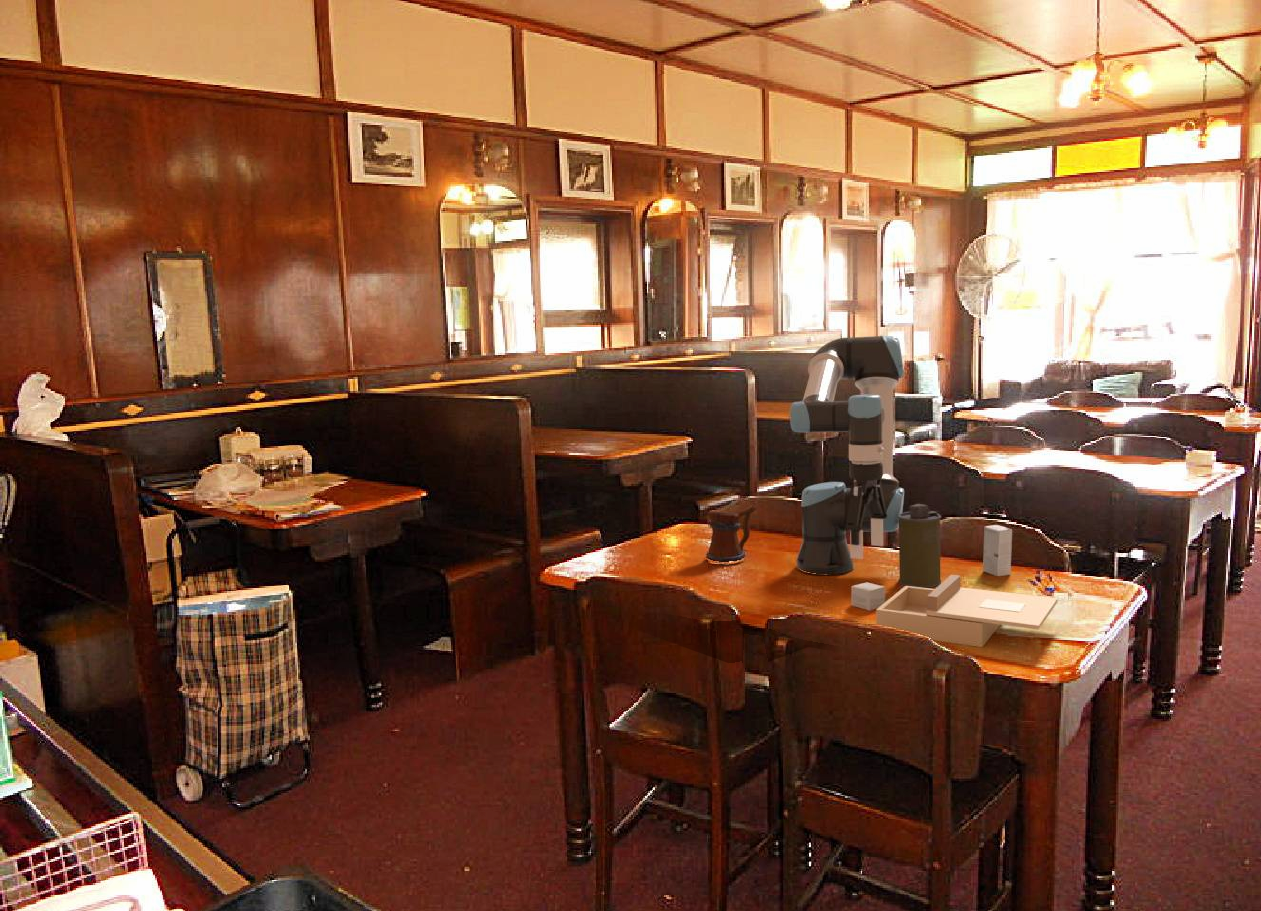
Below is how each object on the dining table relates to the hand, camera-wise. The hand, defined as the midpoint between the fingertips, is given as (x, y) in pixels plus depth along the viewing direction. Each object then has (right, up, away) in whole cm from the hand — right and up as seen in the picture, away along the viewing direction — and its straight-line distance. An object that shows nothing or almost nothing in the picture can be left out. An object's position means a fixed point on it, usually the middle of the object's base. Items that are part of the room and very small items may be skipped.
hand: (867, 551), depth 218 cm
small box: (+1, -13, +2) cm, 14 cm away
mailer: (+13, -15, -14) cm, 24 cm away
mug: (-25, -8, +52) cm, 59 cm away
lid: (+21, -10, -21) cm, 31 cm away
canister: (+18, -10, +19) cm, 28 cm away
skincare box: (+40, -8, +23) cm, 47 cm away
